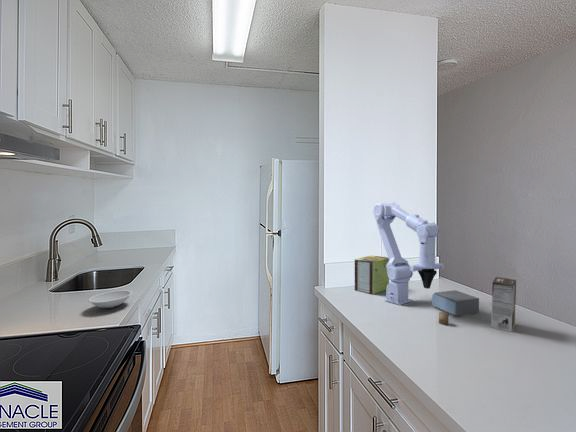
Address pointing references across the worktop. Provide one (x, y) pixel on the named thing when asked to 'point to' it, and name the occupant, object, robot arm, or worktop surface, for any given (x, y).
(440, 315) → the post
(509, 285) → the coffee box
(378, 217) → the robot arm
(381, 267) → the protein box
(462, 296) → the box
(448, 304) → the tray
